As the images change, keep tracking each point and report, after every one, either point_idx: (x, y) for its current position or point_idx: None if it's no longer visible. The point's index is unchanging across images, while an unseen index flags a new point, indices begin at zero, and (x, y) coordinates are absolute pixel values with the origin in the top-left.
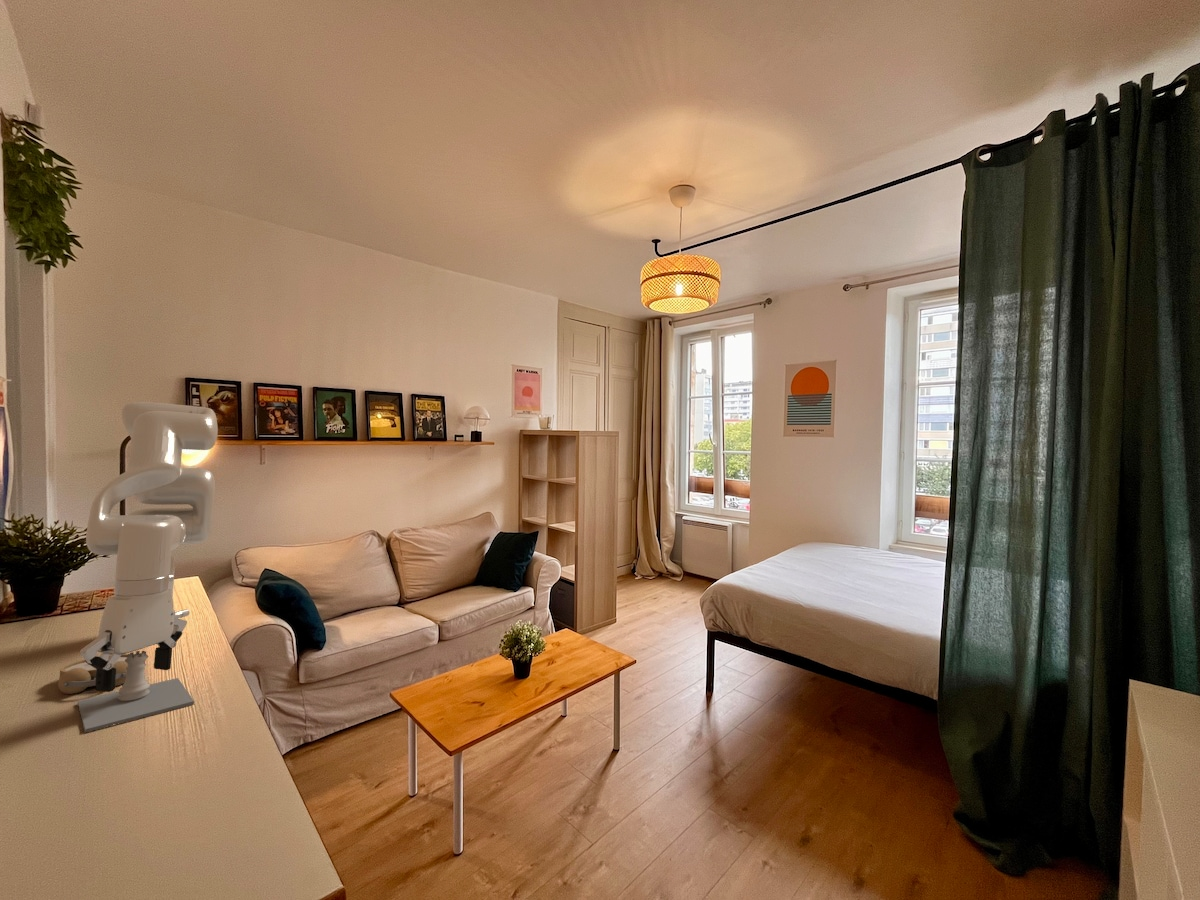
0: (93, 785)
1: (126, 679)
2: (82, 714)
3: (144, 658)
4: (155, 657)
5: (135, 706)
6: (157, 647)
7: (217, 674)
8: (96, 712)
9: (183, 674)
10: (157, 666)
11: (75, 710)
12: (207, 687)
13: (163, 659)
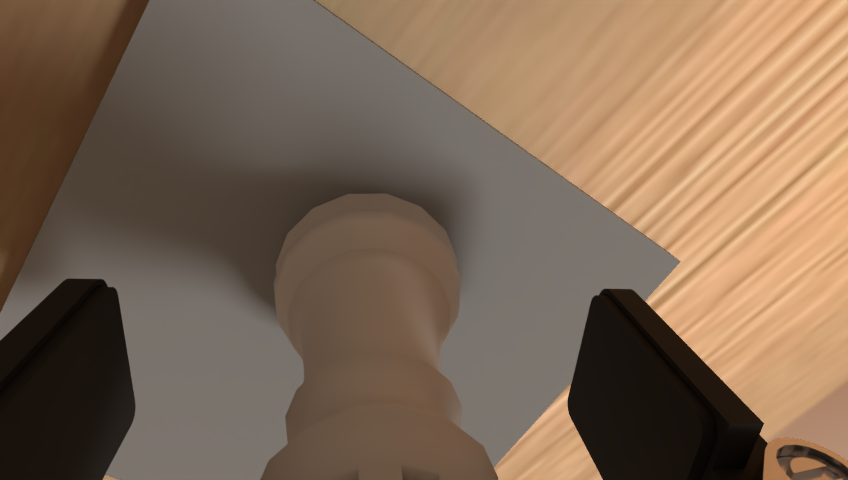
0: None
1: (302, 344)
2: (54, 214)
3: None
4: (646, 361)
5: (262, 397)
6: (751, 421)
7: (764, 377)
8: (114, 272)
9: (782, 189)
10: (595, 338)
11: (122, 27)
12: (586, 464)
13: (612, 447)
